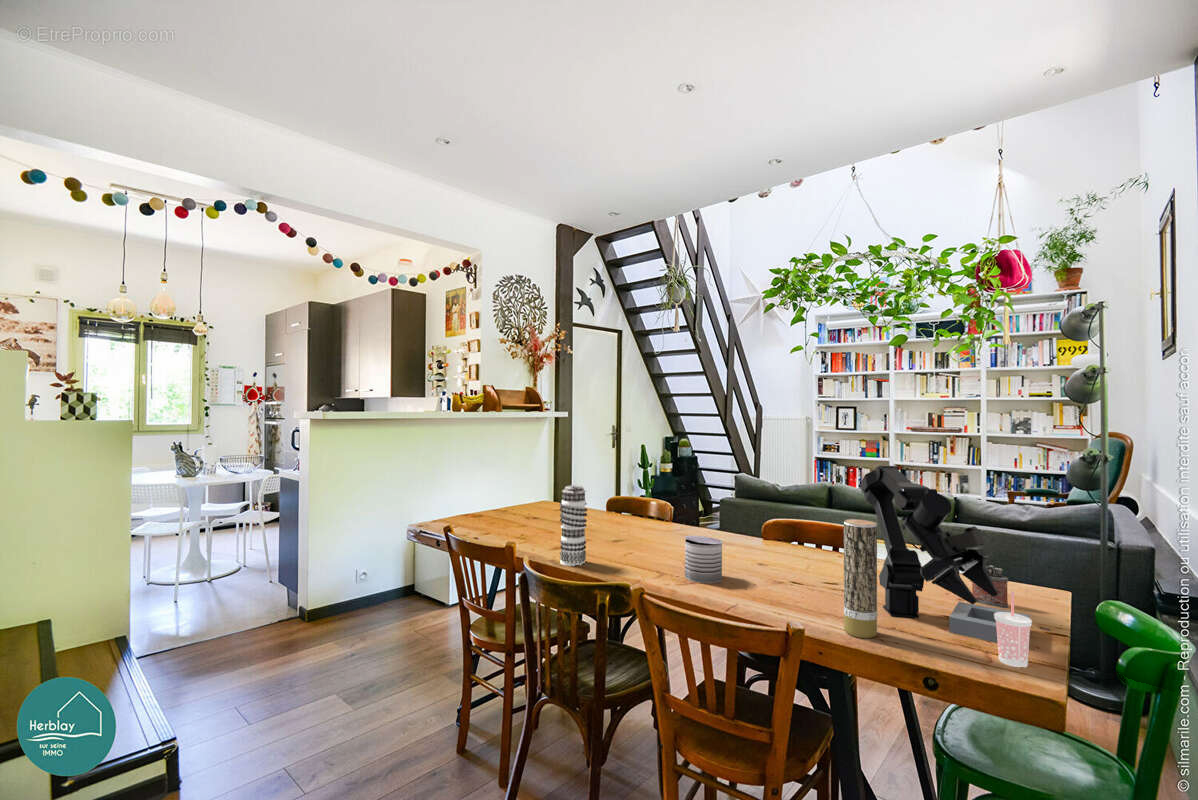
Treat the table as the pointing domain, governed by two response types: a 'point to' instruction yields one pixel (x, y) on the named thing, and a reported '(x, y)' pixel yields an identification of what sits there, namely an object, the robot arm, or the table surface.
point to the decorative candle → (573, 526)
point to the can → (703, 559)
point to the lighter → (999, 584)
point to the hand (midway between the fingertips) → (985, 599)
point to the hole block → (975, 621)
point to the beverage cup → (1013, 637)
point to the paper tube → (860, 578)
